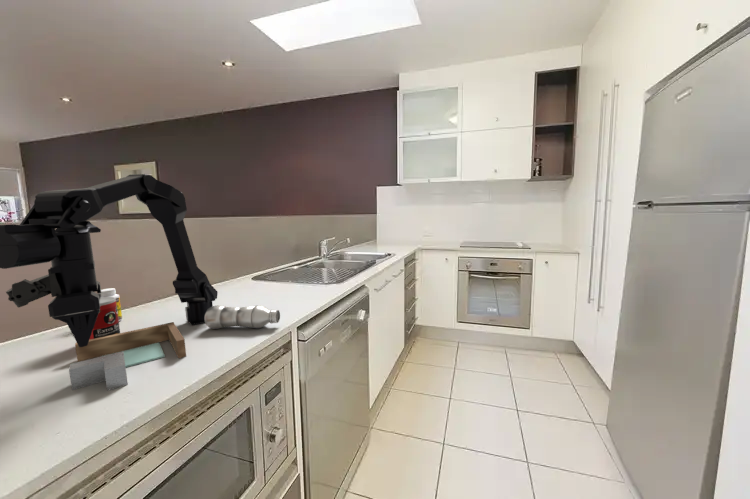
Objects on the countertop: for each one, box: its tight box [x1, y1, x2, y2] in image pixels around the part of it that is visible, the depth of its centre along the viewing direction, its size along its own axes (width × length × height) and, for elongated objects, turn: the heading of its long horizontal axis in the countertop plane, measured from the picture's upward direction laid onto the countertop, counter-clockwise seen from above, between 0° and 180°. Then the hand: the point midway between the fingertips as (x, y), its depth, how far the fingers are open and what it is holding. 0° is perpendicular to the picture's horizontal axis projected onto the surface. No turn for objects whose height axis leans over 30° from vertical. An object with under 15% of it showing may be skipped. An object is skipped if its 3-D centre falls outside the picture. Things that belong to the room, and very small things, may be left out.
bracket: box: [68, 351, 129, 391], centre depth 60 cm, size 8×8×4 cm
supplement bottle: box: [98, 287, 123, 322], centre depth 96 cm, size 6×6×10 cm
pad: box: [100, 342, 165, 368], centre depth 71 cm, size 11×10×1 cm
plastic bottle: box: [204, 305, 281, 330], centre depth 88 cm, size 6×7×20 cm
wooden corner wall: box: [74, 321, 187, 362], centre depth 71 cm, size 19×16×4 cm
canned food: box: [89, 297, 121, 340], centre depth 80 cm, size 8×8×11 cm
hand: (84, 339), depth 60 cm, fingers open, 9 cm apart
